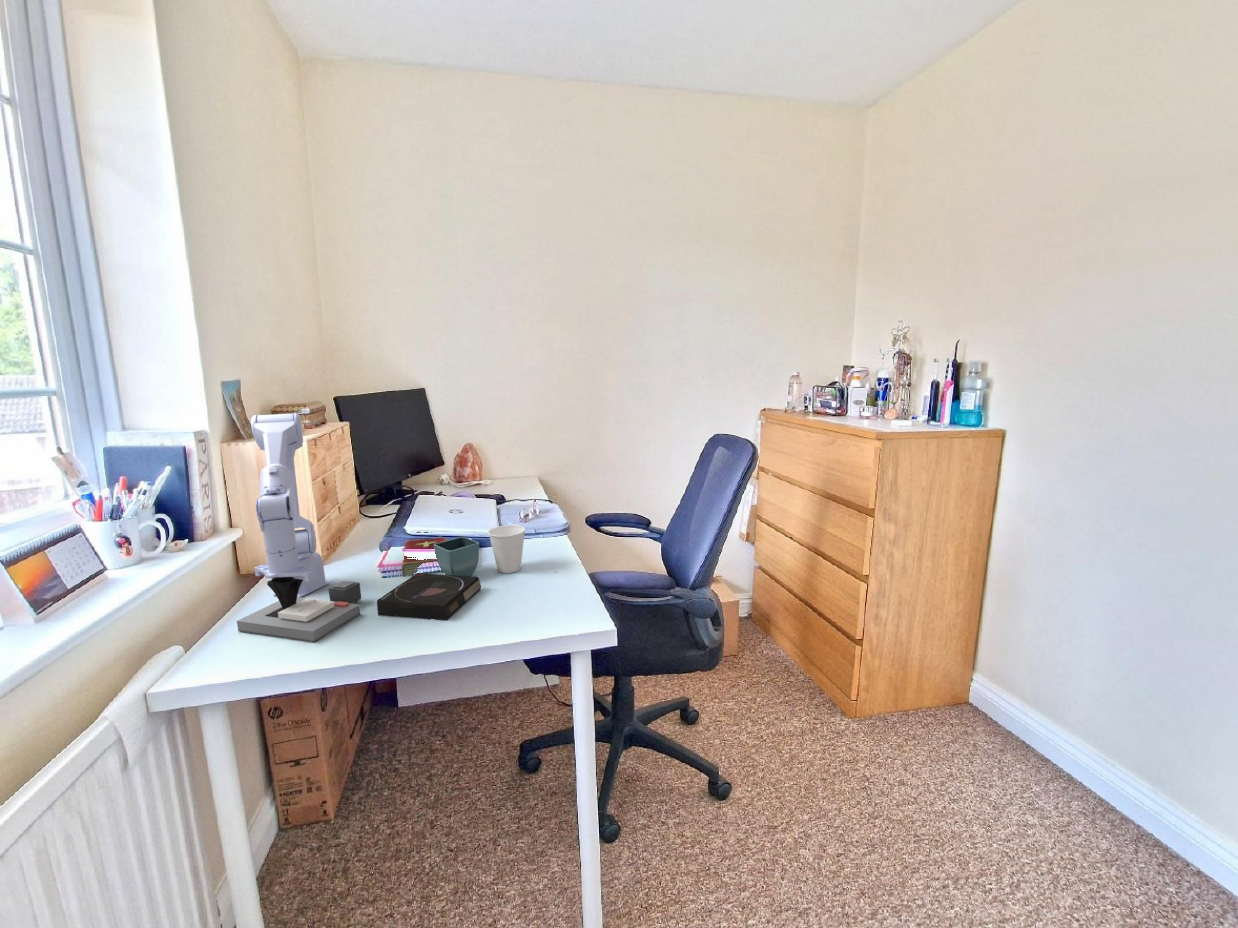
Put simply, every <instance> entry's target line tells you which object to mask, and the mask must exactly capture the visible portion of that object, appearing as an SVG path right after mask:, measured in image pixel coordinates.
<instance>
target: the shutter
mask: <svg viewBox="0 0 1238 928" xmlns="http://www.w3.org/2000/svg"><path fill="white" fill-rule="evenodd" d="M305 598H306V599H304V600H302V601H300V602H298V603H296V604H294V605H292V606H290V607H288V608H286V609H284V610H282V611H280V612H278V618H282V619H290V620H297V621H305V622H307V621H309V620H311V619H313V618H315V617H316V616H318V615H320V614H322V613H324V612H326V611H327V610H329V609H331V608H333V607H335V606H334V601H330V600H323V599H316V598H308V597H305Z"/></svg>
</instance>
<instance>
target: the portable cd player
mask: <svg viewBox="0 0 1238 928" xmlns="http://www.w3.org/2000/svg"><path fill="white" fill-rule="evenodd" d="M481 590H482V585H481V582H480V577H479V576H475V575H474V576H473V575H471V576H459V575H445V574H440V573H439V574H438V573H417V574H415V575H411V577H409V578H408V579H406V580H405V581H404V582H402V583H400V584H399V585H397V586H396V587H395V588H393V589H392V590H390V591H388V592H387V593H386V594H384V595H383V596H380V597H379V598H378V599H377V600H376V608H377V616H379V617H392V618H406V619H408V618H409V619H420V620H431V619H434V620H433V621H448V620H450V619H451V617H452V616H454V615H455V614H456V613H457V612H458V611H459V610H460V609H461V608H462V607H464V605H466V604H468V602H469V601H470V600H471V599H472V598H474V596H475V595H477V594H478V592H480V591H481Z"/></svg>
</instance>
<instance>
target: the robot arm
mask: <svg viewBox="0 0 1238 928" xmlns="http://www.w3.org/2000/svg"><path fill="white" fill-rule="evenodd" d="M250 419H251V420H250V424H251V426H250V427H251V433H252V436H253V440H255V443H256V445H257V446H258V447H259V450H261V451H264V455H265V462H266V463H265V464H266V466H265V467H263V468H262V469H261V470H260V473H259V474H260V475H259V477H260V478H259V498H256V501H255V513H256V516H257V520H258V522H259V527H260V531H261V532H262V536H263V542H264V548H265V549H264V551H265V557H266V563H267V564H260V565H257V566H254V568H253V569H254V574H255V575H254V576H255V577H261V576H264V577H265V578H266V579H270V580H269V581H267V582H266V585H267V586H268V587H269V588H270V589H271V590H272V591H273V596H276V598H277V599H278V601H280V604H281V606H282V608H283V610H284V609H286V608H288V607H290V606H292V605H294V604H296V601H297V597H300V598H303V597H304V596H307V595H308V594H310V593H312V592H315V591H316V590H318V589H320V588H323V587H324V586H326V585H328V584H329V582H328V581H326V575H325V567H324V561H323V557H322V556H321V555H320V553H319V552H317V537H316V531H315V528H314V527H315V526H314V524H313V522H312V521H311V520H309V519H307V518H305V517H303V516H301V514H300V506H299V496H298V487H297V476H296V467H295V456H296V455H295V454H296V451H297V450H298V449H300V448H303V443H304V437H303V436H304V434H303V424H302V418H301V415H300V414H299V413H298V412H294V413H278V414H262V415H261V414H259V415H257V414H254V415H253V416H252V417H251V418H250ZM298 528H299V529H298ZM300 528H301V529H300ZM302 528H303V529H302ZM295 529H297V530H295Z"/></svg>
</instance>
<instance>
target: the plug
mask: <svg viewBox="0 0 1238 928" xmlns="http://www.w3.org/2000/svg"><path fill="white" fill-rule="evenodd" d="M328 595H329V601H334V602H338V601H340V602H348V603H351V604H356V602H358V601H360V600H361V599H362V593H361V583H360V582H358V581H357V582H356V581H348V580H342V581H340V582H339V583H336V584H335V585H333V586H330V587H329V588H328Z"/></svg>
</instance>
